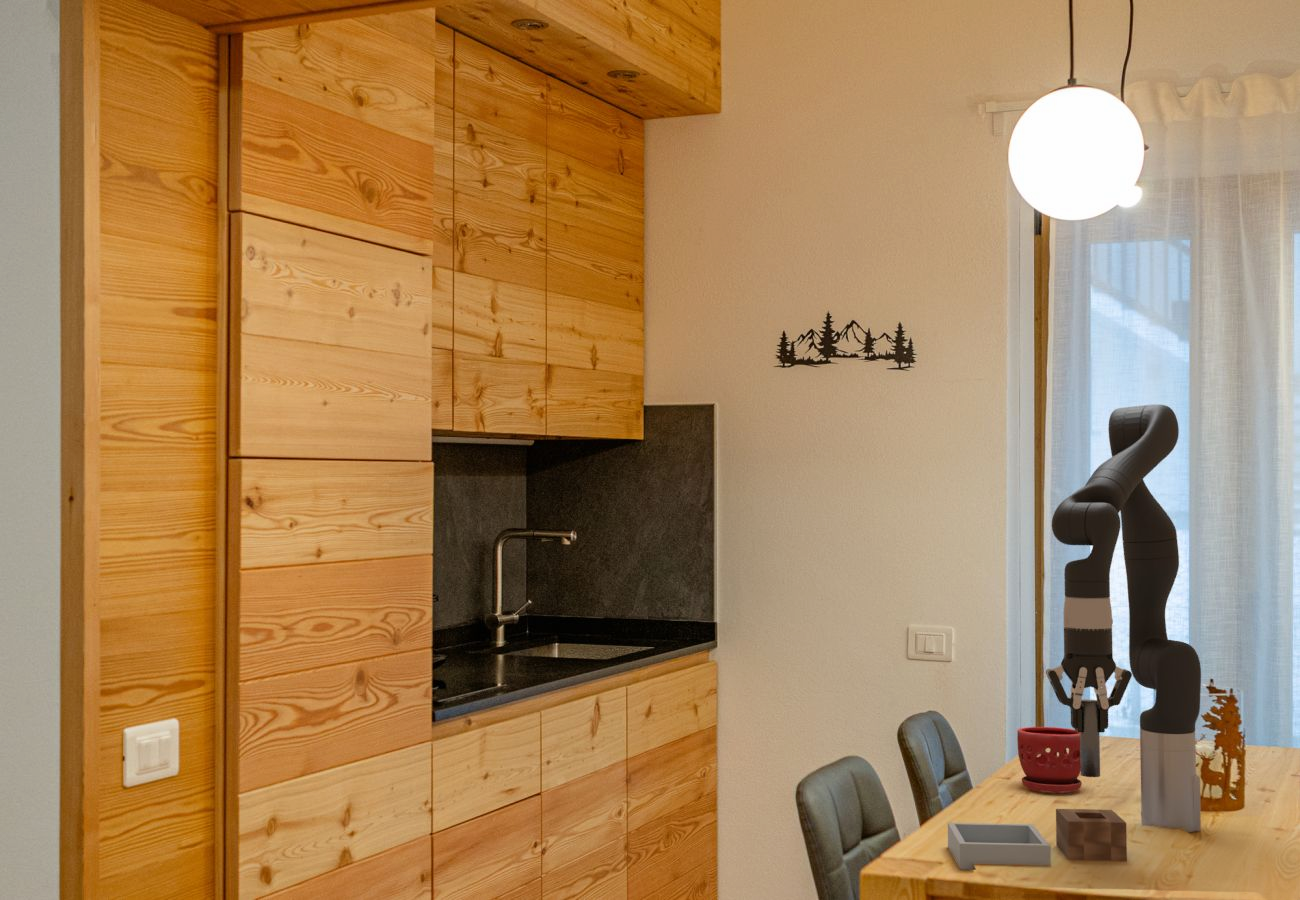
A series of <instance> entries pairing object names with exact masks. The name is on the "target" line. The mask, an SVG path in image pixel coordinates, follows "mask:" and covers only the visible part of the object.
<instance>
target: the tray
mask: <svg viewBox="0 0 1300 900" xmlns="http://www.w3.org/2000/svg"><path fill="white" fill-rule="evenodd" d="M947 848H948V850H949V852H950V853H951V855H952V857H953V859H954V861H955V863H956V864H957V866H958V869H959V870H966V871H967V870H971V871H977V868H976V866H975V865H976V864H977V865H978V864H979V865H985V864H986V865H1018V866H1019V865H1020V866H1051V865H1052V861H1051V860H1052V858H1051V857H1052V854H1051V851H1052V850H1051V849H1052V848H1051V845H1050V843H1049V842H1048V840H1046V838H1045V837H1044V836H1043V834H1041V832H1040V831H1039V830H1038V828H1037V827H1036V826H1035V825H1034V824H1031V823H1027V824H1025V823H988V822H987V823H985V822H983V823H982V822H974V823H973V822H947ZM974 864H975V865H974Z"/></svg>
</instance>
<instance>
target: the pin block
mask: <svg viewBox="0 0 1300 900" xmlns="http://www.w3.org/2000/svg"><path fill="white" fill-rule="evenodd" d="M1055 834H1056V835H1055V839H1056V841H1055V842H1056V844H1055V845H1056V847H1057V848H1058V849H1059V851H1060V852H1061V853H1062V854H1063V855H1064V856H1065V857H1066V859H1067V860H1068V861H1090V862H1091V861H1095V862H1097V861H1098V862H1099V861H1100V862H1127V861H1128V850H1127V849H1128V848H1127V847H1128V846H1127V845H1128V844H1127V843H1128V842H1127V841H1128V840H1127V822H1126V821H1125V820H1124V819H1123V818H1122V817H1121V816H1119V815H1118V814H1117V813H1116V812H1115V811H1114V810H1113V809H1096V808H1095V809H1090V808H1086V809H1085V808H1055Z"/></svg>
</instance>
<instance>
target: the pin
mask: <svg viewBox="0 0 1300 900" xmlns="http://www.w3.org/2000/svg"><path fill="white" fill-rule="evenodd" d="M1080 709H1082V732H1080V763H1081V771H1080V776H1082V777H1085V778H1098V777H1101V757H1100V756H1101V751H1100V750H1101V749H1100V747H1101V745H1100V743H1101V742H1100V740H1101V739H1100V732H1099V701H1097V699H1096V700H1095V699H1081V705H1080Z"/></svg>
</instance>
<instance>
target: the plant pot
mask: <svg viewBox="0 0 1300 900" xmlns="http://www.w3.org/2000/svg"><path fill="white" fill-rule="evenodd" d="M1016 735H1017V736H1016V737H1017V739H1016V740H1017V741H1016V742H1017V754H1018V760H1019V763H1020V766H1021V769H1022V772H1023V773H1024V774H1025V776H1022V778H1021V783H1022V784H1023V786H1024V787H1025V788H1027V789H1029V790H1032V791H1034V792H1038V793H1039V792H1040V793H1046V794H1055V795H1060V794H1068V793H1069V794H1070V793H1073V792H1075V791H1078V790H1079V789H1080V788H1081V786H1082V780H1080V779H1078V777H1079V776H1080V775H1081V763H1080V732H1076V731H1075V728H1073V729H1072V728H1065V727H1055V726H1053V727H1050V726H1030V727H1023V728H1022V727H1021V728H1018V729H1017V734H1016ZM1047 749H1049V750H1050V751H1049V752H1048V751H1046V750H1047ZM1067 749H1068V751H1067ZM1038 755H1039V756H1038Z"/></svg>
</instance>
